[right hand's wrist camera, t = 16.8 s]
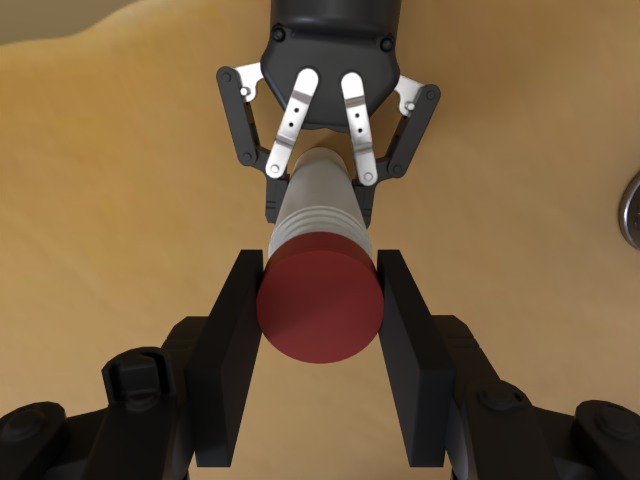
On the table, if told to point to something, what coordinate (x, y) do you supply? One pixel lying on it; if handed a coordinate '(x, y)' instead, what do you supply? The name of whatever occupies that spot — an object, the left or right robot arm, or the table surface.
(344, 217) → the bottle
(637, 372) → the table surface
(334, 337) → the cap
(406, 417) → the right robot arm
